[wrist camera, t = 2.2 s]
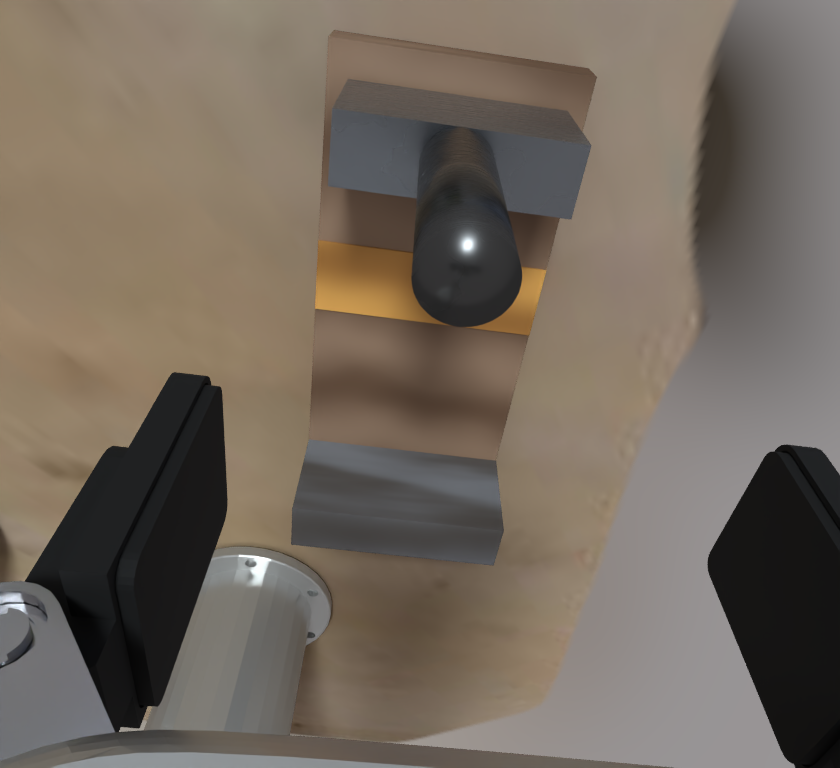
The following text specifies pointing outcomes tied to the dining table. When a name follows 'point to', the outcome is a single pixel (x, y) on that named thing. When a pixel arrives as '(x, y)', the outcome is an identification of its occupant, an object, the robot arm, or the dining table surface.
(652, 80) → the dining table surface
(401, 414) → the press base
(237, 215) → the dining table surface
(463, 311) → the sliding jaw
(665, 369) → the dining table surface
